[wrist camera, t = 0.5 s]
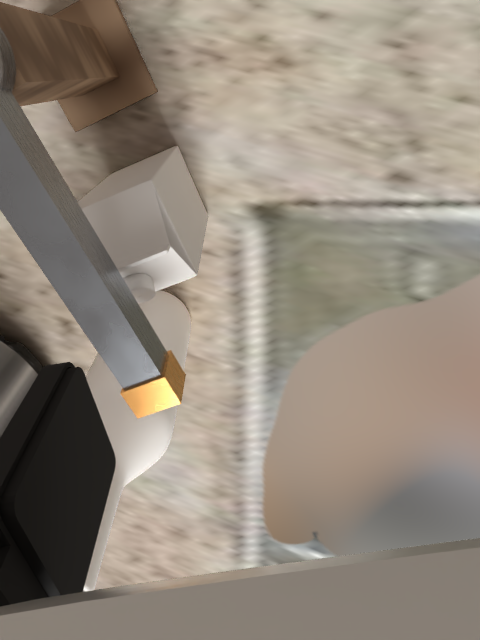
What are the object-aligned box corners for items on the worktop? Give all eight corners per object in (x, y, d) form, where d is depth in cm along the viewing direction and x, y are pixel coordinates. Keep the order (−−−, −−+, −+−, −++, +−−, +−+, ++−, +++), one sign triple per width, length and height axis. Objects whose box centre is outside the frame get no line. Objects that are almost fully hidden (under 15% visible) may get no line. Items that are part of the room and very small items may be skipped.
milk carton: (109, 174, 43) (28, 240, 26) (177, 144, 42) (139, 194, 25) (144, 241, 46) (92, 339, 30) (209, 215, 45) (193, 302, 28)
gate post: (25, 34, 38) (-169, 1, 20) (109, -13, 36) (-16, -95, 18) (78, 130, 41) (-44, 178, 23) (157, 91, 40) (92, 110, 22)
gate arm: (-110, 27, 20) (-163, 21, 17) (-27, -22, 19) (-70, -37, 16) (135, 392, 29) (125, 424, 27) (197, 369, 28) (193, 400, 26)
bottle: (205, 333, 51) (173, 610, 25) (146, 363, 53) (58, 651, 27) (164, 275, 48) (77, 525, 22) (103, 309, 50) (-47, 578, 23)
